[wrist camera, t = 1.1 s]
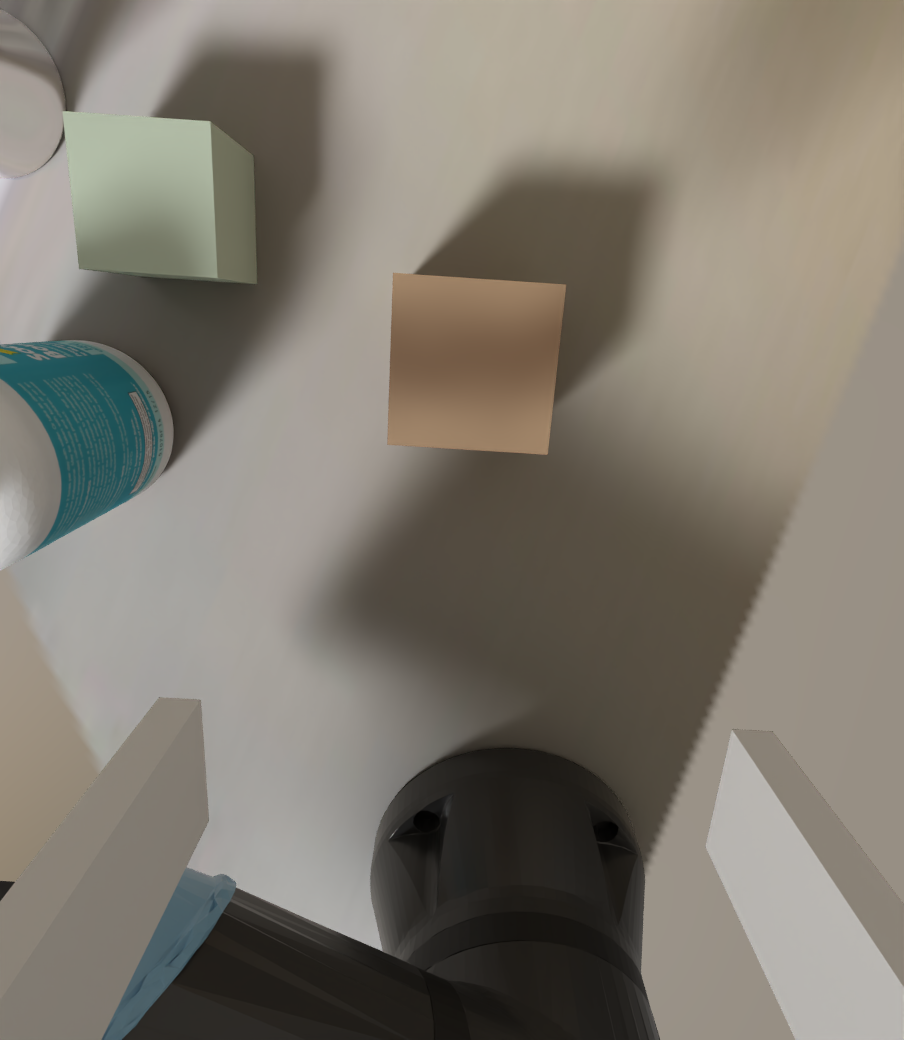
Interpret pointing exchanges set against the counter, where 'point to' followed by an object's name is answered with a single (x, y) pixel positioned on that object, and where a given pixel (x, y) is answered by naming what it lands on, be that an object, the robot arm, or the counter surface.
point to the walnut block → (473, 363)
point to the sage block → (161, 198)
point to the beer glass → (27, 100)
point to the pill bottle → (73, 438)
